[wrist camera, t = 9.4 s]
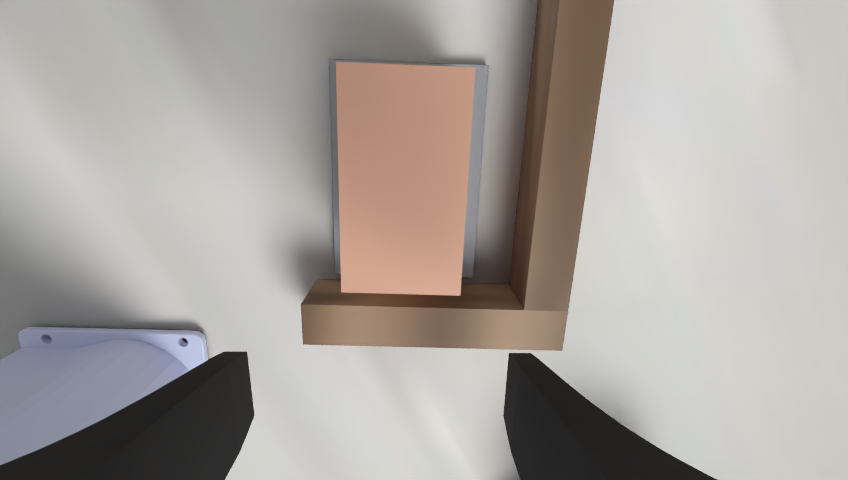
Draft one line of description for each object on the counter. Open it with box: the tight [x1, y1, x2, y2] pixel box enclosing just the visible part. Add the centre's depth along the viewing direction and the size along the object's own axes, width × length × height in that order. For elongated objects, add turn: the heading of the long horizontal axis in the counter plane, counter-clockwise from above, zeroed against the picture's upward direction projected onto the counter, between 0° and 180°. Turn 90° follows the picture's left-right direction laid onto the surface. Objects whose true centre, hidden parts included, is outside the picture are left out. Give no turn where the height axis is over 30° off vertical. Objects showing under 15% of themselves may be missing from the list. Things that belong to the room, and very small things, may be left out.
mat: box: [329, 59, 489, 278], centre depth 19 cm, size 7×10×1 cm
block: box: [336, 62, 476, 296], centre depth 16 cm, size 8×4×5 cm, turn 178°
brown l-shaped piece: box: [301, 0, 614, 351], centre depth 17 cm, size 12×16×3 cm
